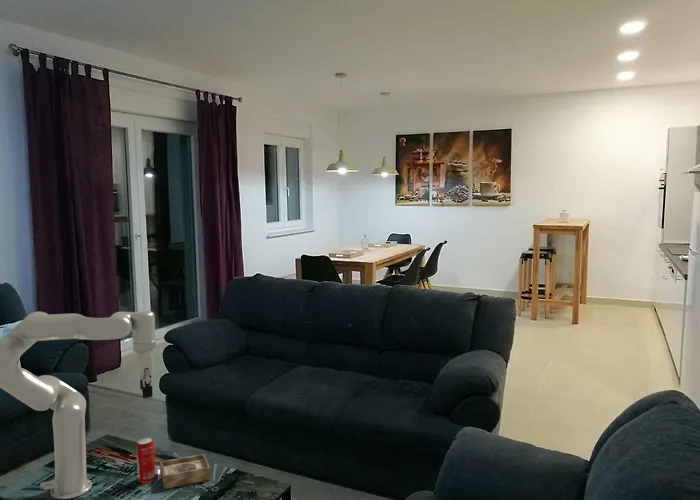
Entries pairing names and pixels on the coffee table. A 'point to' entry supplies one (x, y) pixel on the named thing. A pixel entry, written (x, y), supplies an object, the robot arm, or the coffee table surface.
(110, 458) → the coffee table surface
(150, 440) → the beverage can
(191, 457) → the wooden box
